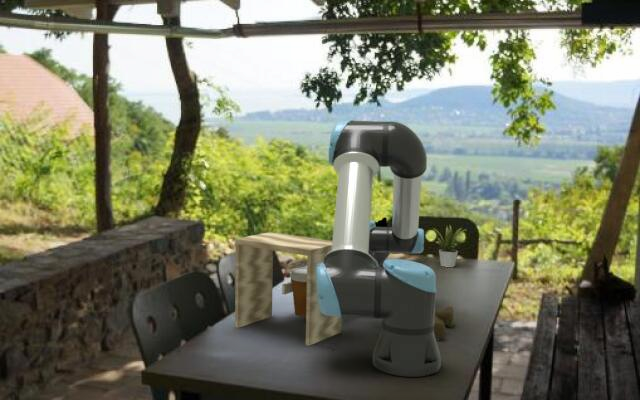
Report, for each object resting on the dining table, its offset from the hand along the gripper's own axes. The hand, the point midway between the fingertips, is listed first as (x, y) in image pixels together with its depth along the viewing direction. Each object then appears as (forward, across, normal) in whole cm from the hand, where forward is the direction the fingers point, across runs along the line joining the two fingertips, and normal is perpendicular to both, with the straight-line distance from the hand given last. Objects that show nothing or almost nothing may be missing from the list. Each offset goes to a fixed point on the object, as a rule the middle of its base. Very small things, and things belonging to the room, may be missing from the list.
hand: (296, 292), depth 183 cm
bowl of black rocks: (-77, +25, -10) cm, 81 cm away
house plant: (-97, 0, -10) cm, 97 cm away
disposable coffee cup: (-5, 0, -7) cm, 9 cm away
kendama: (-21, -30, -10) cm, 38 cm away
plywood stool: (+4, -1, -9) cm, 10 cm away
